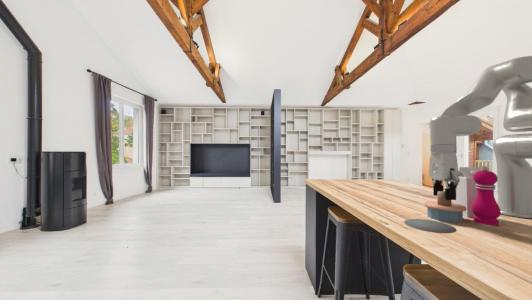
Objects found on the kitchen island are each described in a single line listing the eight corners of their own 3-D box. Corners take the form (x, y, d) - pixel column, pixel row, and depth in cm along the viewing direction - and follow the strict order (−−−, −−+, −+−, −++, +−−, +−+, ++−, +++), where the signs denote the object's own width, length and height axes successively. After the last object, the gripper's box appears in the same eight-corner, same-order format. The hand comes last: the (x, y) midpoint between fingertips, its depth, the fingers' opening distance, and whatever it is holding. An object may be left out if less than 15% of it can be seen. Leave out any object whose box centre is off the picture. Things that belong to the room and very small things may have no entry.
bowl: (451, 216, 85) (451, 204, 85) (470, 224, 75) (469, 211, 75) (422, 214, 87) (422, 203, 87) (437, 222, 77) (436, 210, 77)
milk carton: (453, 213, 88) (452, 166, 89) (473, 213, 87) (472, 166, 88) (467, 218, 81) (466, 167, 82) (489, 219, 80) (487, 167, 81)
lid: (452, 203, 86) (452, 189, 86) (475, 212, 74) (475, 195, 74) (418, 202, 88) (418, 189, 88) (435, 210, 76) (435, 194, 76)
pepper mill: (507, 227, 71) (506, 166, 72) (481, 226, 73) (480, 166, 73) (489, 220, 79) (488, 165, 79) (466, 219, 80) (465, 165, 80)
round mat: (440, 221, 78) (440, 220, 79) (467, 236, 65) (467, 234, 65) (397, 219, 81) (397, 218, 81) (415, 233, 68) (415, 231, 68)
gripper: (420, 149, 90) (421, 193, 90) (446, 149, 73) (447, 202, 73) (441, 149, 89) (441, 193, 89) (471, 149, 72) (473, 203, 72)
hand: (444, 197), depth 81 cm, fingers open, 6 cm apart
